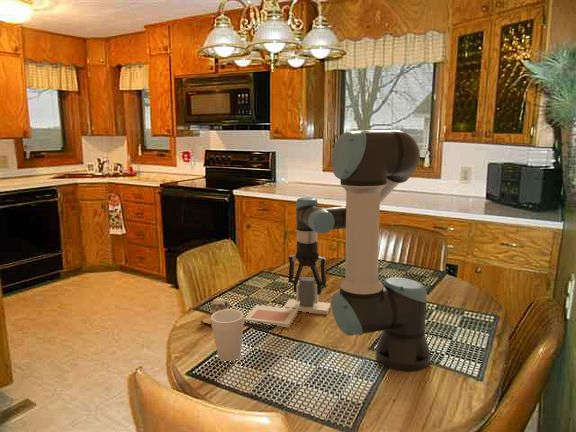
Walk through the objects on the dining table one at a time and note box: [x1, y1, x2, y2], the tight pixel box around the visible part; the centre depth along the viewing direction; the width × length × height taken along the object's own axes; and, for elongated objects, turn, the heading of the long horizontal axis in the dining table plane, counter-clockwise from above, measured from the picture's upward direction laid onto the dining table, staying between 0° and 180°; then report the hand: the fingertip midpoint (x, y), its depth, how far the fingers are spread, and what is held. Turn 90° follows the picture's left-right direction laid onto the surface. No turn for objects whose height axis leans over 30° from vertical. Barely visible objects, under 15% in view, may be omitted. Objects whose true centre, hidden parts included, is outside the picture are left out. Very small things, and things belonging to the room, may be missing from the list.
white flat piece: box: [244, 303, 299, 328], centre depth 153 cm, size 13×16×2 cm
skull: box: [206, 297, 231, 326], centre depth 152 cm, size 12×10×10 cm
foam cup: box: [210, 308, 245, 361], centre depth 126 cm, size 10×9×13 cm
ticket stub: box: [283, 276, 332, 316], centre depth 159 cm, size 7×16×12 cm, turn 74°
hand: (307, 301), depth 160 cm, fingers open, 6 cm apart
